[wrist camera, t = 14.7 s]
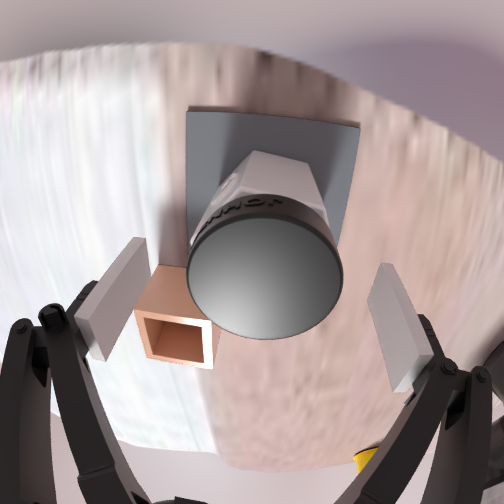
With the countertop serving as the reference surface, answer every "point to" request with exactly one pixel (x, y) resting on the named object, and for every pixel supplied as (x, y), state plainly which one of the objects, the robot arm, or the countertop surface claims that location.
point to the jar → (265, 252)
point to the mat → (273, 142)
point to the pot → (175, 321)
